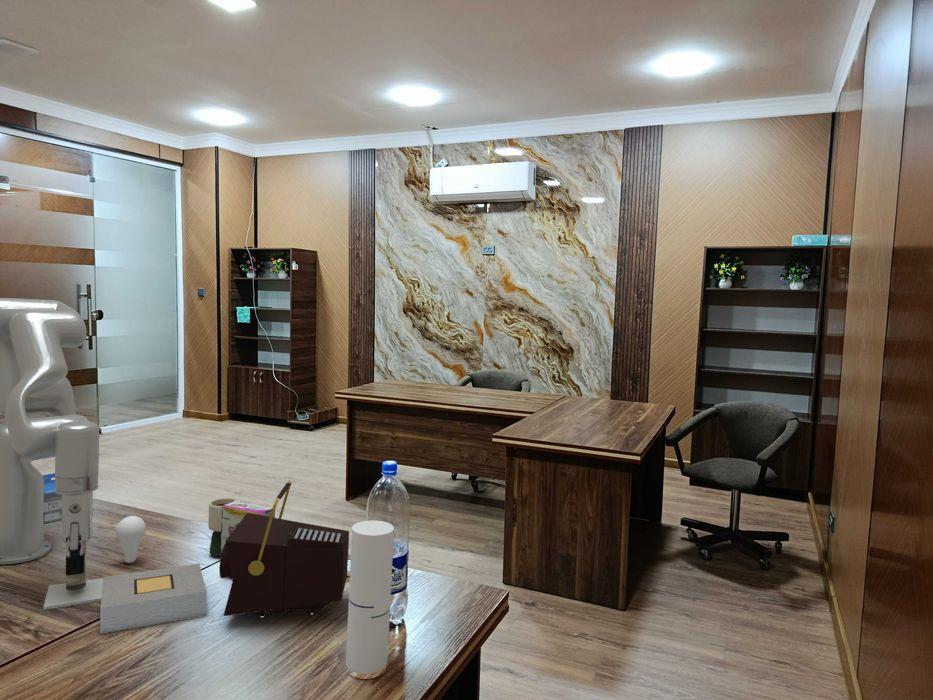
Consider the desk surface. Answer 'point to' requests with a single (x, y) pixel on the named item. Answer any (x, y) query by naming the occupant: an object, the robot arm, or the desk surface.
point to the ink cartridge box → (51, 500)
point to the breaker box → (151, 599)
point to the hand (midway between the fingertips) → (75, 569)
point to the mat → (73, 594)
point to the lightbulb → (130, 536)
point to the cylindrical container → (369, 596)
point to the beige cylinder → (79, 579)
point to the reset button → (153, 584)
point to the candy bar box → (238, 516)
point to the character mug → (216, 523)
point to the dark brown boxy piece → (283, 564)
